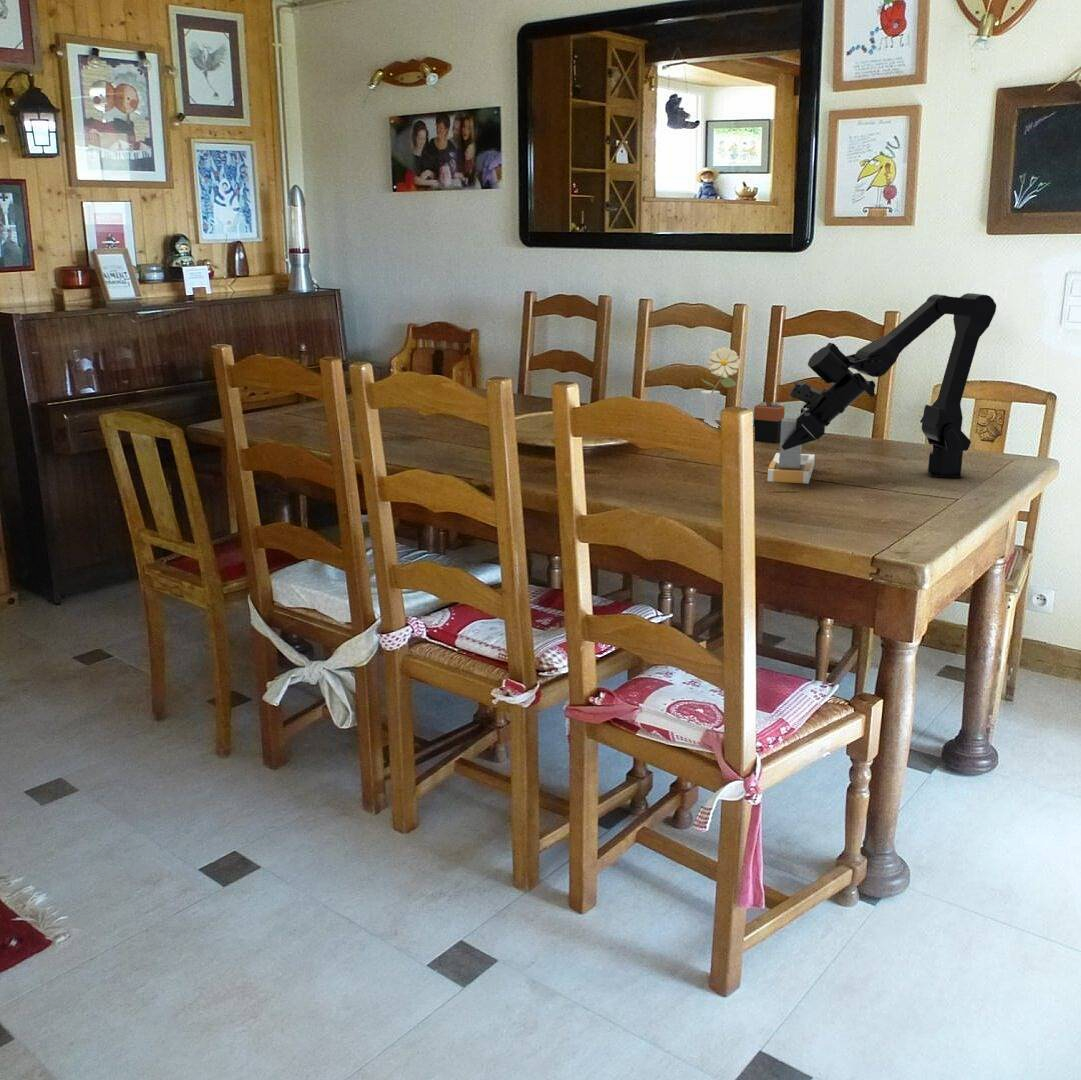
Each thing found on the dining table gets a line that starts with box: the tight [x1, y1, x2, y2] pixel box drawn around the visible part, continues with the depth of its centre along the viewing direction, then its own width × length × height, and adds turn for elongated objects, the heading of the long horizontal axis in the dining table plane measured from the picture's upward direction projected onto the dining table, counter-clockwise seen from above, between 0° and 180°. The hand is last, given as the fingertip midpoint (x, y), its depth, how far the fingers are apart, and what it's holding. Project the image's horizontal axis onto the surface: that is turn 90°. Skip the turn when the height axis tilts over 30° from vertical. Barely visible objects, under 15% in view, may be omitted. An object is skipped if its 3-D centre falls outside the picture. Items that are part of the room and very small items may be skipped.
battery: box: [753, 401, 786, 444], centre depth 277 cm, size 4×7×10 cm, turn 53°
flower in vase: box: [700, 346, 741, 428], centre depth 269 cm, size 13×11×25 cm
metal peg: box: [779, 417, 803, 471], centre depth 236 cm, size 4×4×13 cm
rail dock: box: [766, 452, 816, 484], centre depth 242 cm, size 9×19×3 cm, turn 163°
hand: (784, 444), depth 236 cm, fingers open, 9 cm apart
